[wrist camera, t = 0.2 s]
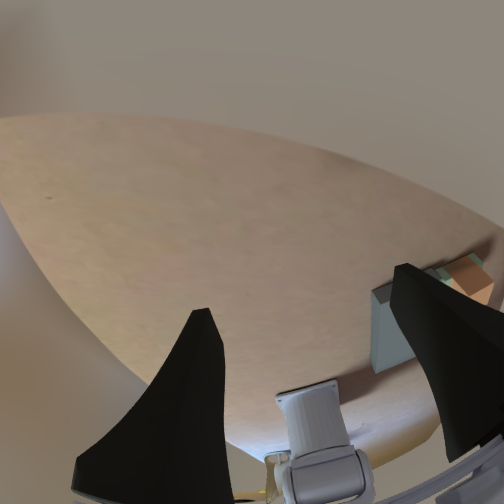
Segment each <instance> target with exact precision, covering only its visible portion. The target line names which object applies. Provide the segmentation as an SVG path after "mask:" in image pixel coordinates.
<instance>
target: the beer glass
mask: <svg viewBox="0 0 504 504" xmlns="http://www.w3.org/2000/svg"><path fill="white" fill-rule="evenodd" d="M263 459H264V462H265V464H266V468H267V479H266V490H265V497H266V504H287V503H286V500H285V495H284V490H283V482H282V473H283V471H284V470H285V468H286V467H288V466H291V462H290V461H291V460H292V455H291V452H288V451H279V452H273V453H269V454H266V455H264V456H263Z"/></svg>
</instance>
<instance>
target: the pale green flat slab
mask: <svg viewBox="0 0 504 504" xmlns="http://www.w3.org/2000/svg"><path fill="white" fill-rule="evenodd" d="M482 266H483V261H481V260H480V259H479V258H478V257H477V256H476V255H475V254H474V253H471V254H469V255H466V256H464V257H462V258H460V259H458V260H456V261H453V262H451V263H449V264H447V265H444V266H442V267H440V268H438V269H435V270H434V271H435V272H436V273H437V274H438V275H439V276H440V277H441V278H442V282H443V283H444V284H446V285H448V286H450V287H451V288H453V289H455V290H457V291H458V292H460V293H462V294H464V295H466V296H468V297H470V298H471V299H473V300H475V301H477V302H479V303H481V304H484V305H486V304H488V301H489V298H490V295H491V292H492V289H493V285H494V281H493V280H492V279H491V278H490V277H489V276H488V275H487V274H486V273H485V272H484V271H483V270H482Z"/></svg>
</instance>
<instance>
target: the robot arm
mask: <svg viewBox="0 0 504 504" xmlns="http://www.w3.org/2000/svg"><path fill="white" fill-rule="evenodd" d="M389 306H390V308H391V311H392V313H393V315H394V318H395V320H396V322H397V324H398V326H399V328H400V330H401V331H402V333H403V335H404V336H405V338H406V340H407V342H408V343H409V345H410V347H411V348H412V350H413V352H414V354H415V355H416V357H417V359H418V361H419V362H420V364H421V366H422V368H423V370H424V372H425V374H426V376H427V379H428V381H429V384H430V387H431V389H432V392H433V395H434V398H435V401H436V404H437V408H438V411H439V415H440V419H441V423H442V428H443V433H444V439H445V446H446V455H447V458H448V460H449V463H451V462H453V461H454V460H456V459H458V458H459V457H461V456H462V455H464V454H466V453H467V452H468V451H470V450H472V449H473V448H475V447H476V446H478V445H480V447H481V448H480V449H479V450H477V451H476V452H475V453H473V454H472V455H470V456H469V457H467V458H466V459H464V460H462V461H461V462H459V463H458V464H456V465H455V466H453V467H451V468H449V469H448V470H446V471H444V472H442V473H440V474H439V475H437V476H435V477H433V478H431V479H429V480H427V481H426V482H423V483H421V484H419V485H417V486H415V487H413V488H411V489H408V490H407V491H404V492H402V493H399V494H397V495H395V496H392V497H390V498H387V499H384V500H382V501H379V502H376V503H373V501H374V498H375V489H374V479H373V472H372V467H371V464H370V461H369V458H368V456H367V454H366V453H365V452H364V451H362V450H360V449H356V450H355V449H354V445H350V441H349V438H348V434H347V431H346V427H345V424H344V421H343V417H342V414H341V410H340V403H339V393H338V383H337V380H331V381H328V382H324V383H321V384H318V385H314V386H311V387H307V388H304V389H300V390H296V391H292V392H288V393H284V394H280V395H277V396H275V400H276V402H277V404H278V405H279V407H280V409H281V411H282V413H283V414H284V416H285V420H286V425H287V431H288V437H289V443H290V449H291V455H292V460H291V461H290V462H291V466H288V467H286V468H285V470H284V471H283V473H282V482H283V490H284V495H285V500H286V503H287V504H325V503H330V502H334V501H338V500H341V499H345V498H348V497H352V496H355V495H358V494H359V495H358V496H357V497H356V498H355V499H353V500H350V501H348V502H344V503H340V504H372V503H373V504H416V503H418V502H420V501H422V500H424V499H426V498H428V497H430V496H432V495H434V494H436V493H437V492H439V491H441V490H443V489H445V488H446V487H448V486H450V485H451V484H453V483H455V482H456V481H458V480H459V479H461V478H463V477H464V476H466V475H467V474H469V473H471V472H472V471H473V470H474V471H473V474H472V476H471V477H470V478H468V479H466V480H464V481H462V482H460V483H458V484H457V485H455V486H453V487H451V488H450V489H448V490H447V491H445V492H444V493H442V494H441V495H439V496H437V497H436V499H435V501H436V504H504V313H502V312H500V311H497V310H495V309H493V308H490V307H488V306H486V305H484V304H481V303H479V302H477V301H475V300H473V299H471V298H470V297H468V296H466V295H464V294H462V293H460V292H458V291H457V290H455V289H453V288H451V287H450V286H448V285H446V284H444V283H443V282H441V281H439V280H438V279H436V278H434V277H432V276H431V275H429V274H427V273H426V272H424V271H422V270H420V269H418V268H417V267H415V266H413V265H411V264H409V263H405V264H402V265H398V266H395V269H394V277H393V284H392V291H391V297H390V303H389ZM224 393H225V356H224V345H223V341H222V339H221V337H220V334H219V332H218V329H217V327H216V325H215V322H214V320H213V317H212V315H211V312H210V310H209V308H204V309H198V310H193V311H192V313H191V314H190V316H189V318H188V320H187V322H186V324H185V326H184V328H183V330H182V332H181V334H180V335H179V337H178V339H177V341H176V343H175V345H174V346H173V348H172V350H171V352H170V354H169V355H168V357H167V359H166V360H165V362H164V364H163V365H162V367H161V368H160V370H159V372H158V373H157V375H156V376H155V378H154V379H153V381H152V382H151V384H150V385H149V387H148V388H147V389H146V391H145V392H144V394H143V395H142V396H141V397H140V399H139V400H138V401H137V402H136V403H135V405H134V406H133V407H132V408H131V409H130V410H129V412H128V413H127V414H126V415H125V416H124V417H123V418H122V420H121V421H120V422H119V423H118V424H116V426H114V427H113V428H112V429H111V430H110V431H109V432H108V433H107V434H106V435H105V436H104V437H103V438H102V439H100V440H99V441H98V442H97V443H96V444H94V445H93V446H92V447H90V448H89V449H88V450H87V451H85V452H84V453H83V454H81V455H80V456H78V457H77V459H76V463H75V469H74V474H73V480H72V486H71V490H72V491H73V492H74V493H76V494H78V495H80V496H83V497H86V498H88V499H91V500H94V501H97V502H100V503H102V504H235V503H234V498H233V493H232V488H231V483H230V477H229V469H228V462H227V454H226V445H225V434H224ZM73 504H84V503H81V502H79V501H76V500H74V501H73Z"/></svg>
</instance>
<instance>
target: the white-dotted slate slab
mask: <svg viewBox="0 0 504 504" xmlns="http://www.w3.org/2000/svg"><path fill="white" fill-rule="evenodd" d="M424 272H426V273H427V274H429V275H431V276H432V277H434V278H436V279H438V280H439V281H441V282H442V278H441V277H440V276H439V275H438V274H437V273H436V272H435V271H434V270H433V269H432V268H429V269H426V270H424ZM392 284H393V283H391V284H388V285H386V286H383V287H380V288H377V289H375V290H372V326H371V353H370V362H371V365H372V367H373V369H374V372H375V374H376V373H379V372H381V371H384V370H386V369H389V368H391V367H394V366H396V365H398V364H401V363H403V362H405V361H407V360H409V359H412V358H414V357H416V355H415V354H414V352H413V350H412V348H411V347H410V345H409V343H408V342H407V340H406V338H405V336H404V335H403V333H402V331H401V330H400V328H399V326H398V324H397V322H396V320H395V318H394V315H393V313H392V311H391V308H390V306H389V303H390V297H391V291H392Z"/></svg>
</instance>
